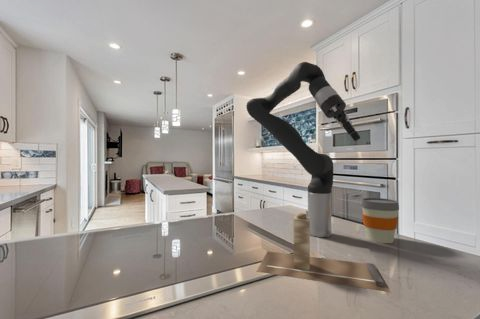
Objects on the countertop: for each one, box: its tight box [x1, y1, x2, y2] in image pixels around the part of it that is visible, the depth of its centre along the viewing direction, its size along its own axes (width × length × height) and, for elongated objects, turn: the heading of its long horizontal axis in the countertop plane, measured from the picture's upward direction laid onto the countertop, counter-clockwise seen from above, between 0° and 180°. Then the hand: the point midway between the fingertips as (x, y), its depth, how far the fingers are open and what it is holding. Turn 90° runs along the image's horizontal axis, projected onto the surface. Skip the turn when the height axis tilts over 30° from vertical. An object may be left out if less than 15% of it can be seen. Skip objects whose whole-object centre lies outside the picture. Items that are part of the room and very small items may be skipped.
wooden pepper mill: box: [293, 212, 311, 270], centre depth 63 cm, size 4×4×14 cm
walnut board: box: [256, 251, 391, 293], centre depth 62 cm, size 30×14×2 cm, turn 72°
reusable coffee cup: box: [360, 197, 400, 244], centre depth 89 cm, size 13×13×15 cm
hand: (355, 136), depth 76 cm, fingers open, 8 cm apart
